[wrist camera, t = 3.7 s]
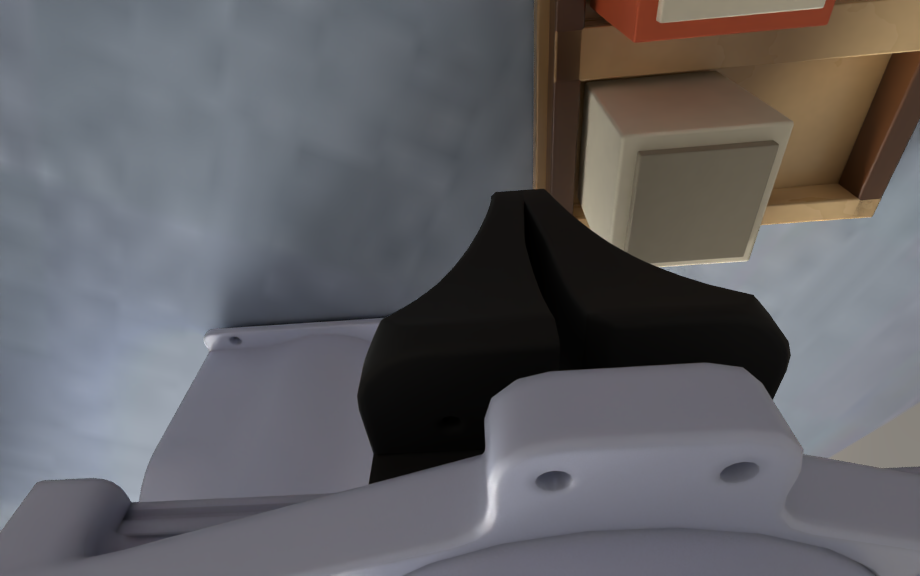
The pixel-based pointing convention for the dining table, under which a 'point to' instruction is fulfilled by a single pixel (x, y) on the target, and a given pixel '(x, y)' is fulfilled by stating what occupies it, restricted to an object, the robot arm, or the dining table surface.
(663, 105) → the cream panelled block
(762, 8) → the red block with panel
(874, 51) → the divided wooden tray
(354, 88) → the dining table surface
